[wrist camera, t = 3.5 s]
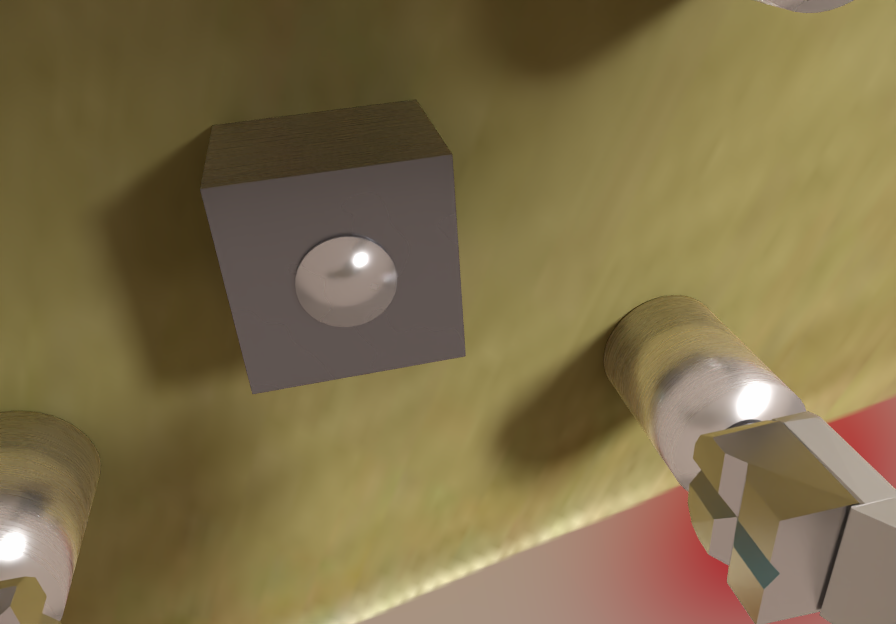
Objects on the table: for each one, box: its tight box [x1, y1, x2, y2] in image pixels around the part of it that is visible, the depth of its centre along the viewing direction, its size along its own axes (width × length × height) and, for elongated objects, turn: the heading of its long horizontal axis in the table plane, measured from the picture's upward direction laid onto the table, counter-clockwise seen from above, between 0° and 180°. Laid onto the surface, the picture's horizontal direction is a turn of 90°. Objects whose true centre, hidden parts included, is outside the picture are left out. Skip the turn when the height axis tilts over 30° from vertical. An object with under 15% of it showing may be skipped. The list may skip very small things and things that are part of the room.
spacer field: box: [0, 0, 853, 621], centre depth 15 cm, size 22×20×5 cm
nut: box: [200, 100, 466, 394], centre depth 17 cm, size 5×5×4 cm
